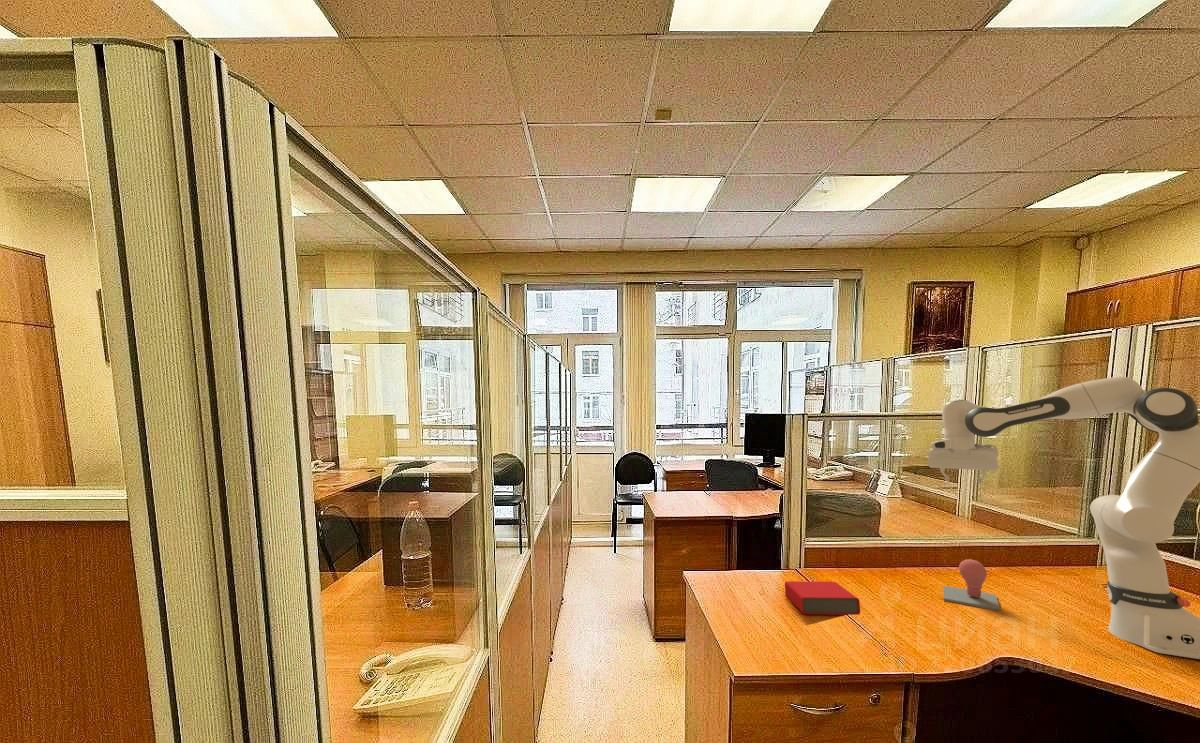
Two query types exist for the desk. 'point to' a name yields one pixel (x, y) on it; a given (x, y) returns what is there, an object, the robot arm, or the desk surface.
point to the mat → (970, 598)
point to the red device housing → (822, 598)
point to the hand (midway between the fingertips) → (963, 481)
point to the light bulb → (973, 576)
